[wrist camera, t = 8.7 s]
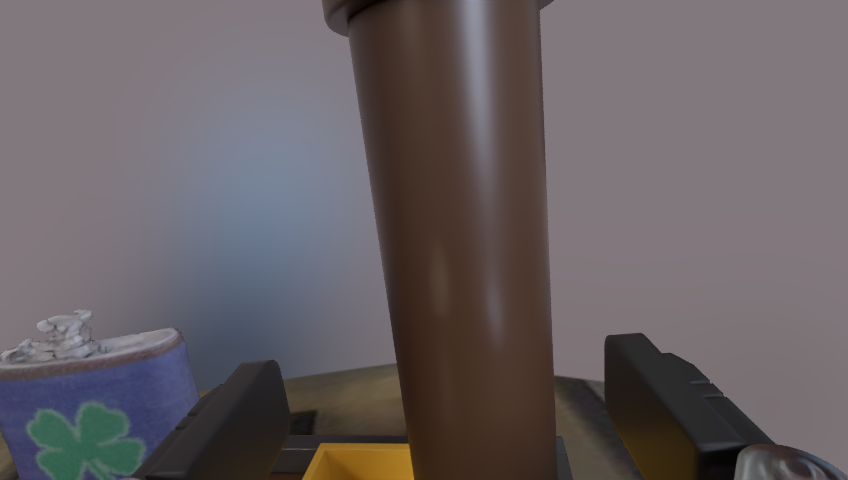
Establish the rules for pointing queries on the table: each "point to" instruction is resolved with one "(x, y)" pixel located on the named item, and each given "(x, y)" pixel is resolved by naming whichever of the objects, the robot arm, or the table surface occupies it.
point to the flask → (91, 399)
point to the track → (304, 447)
